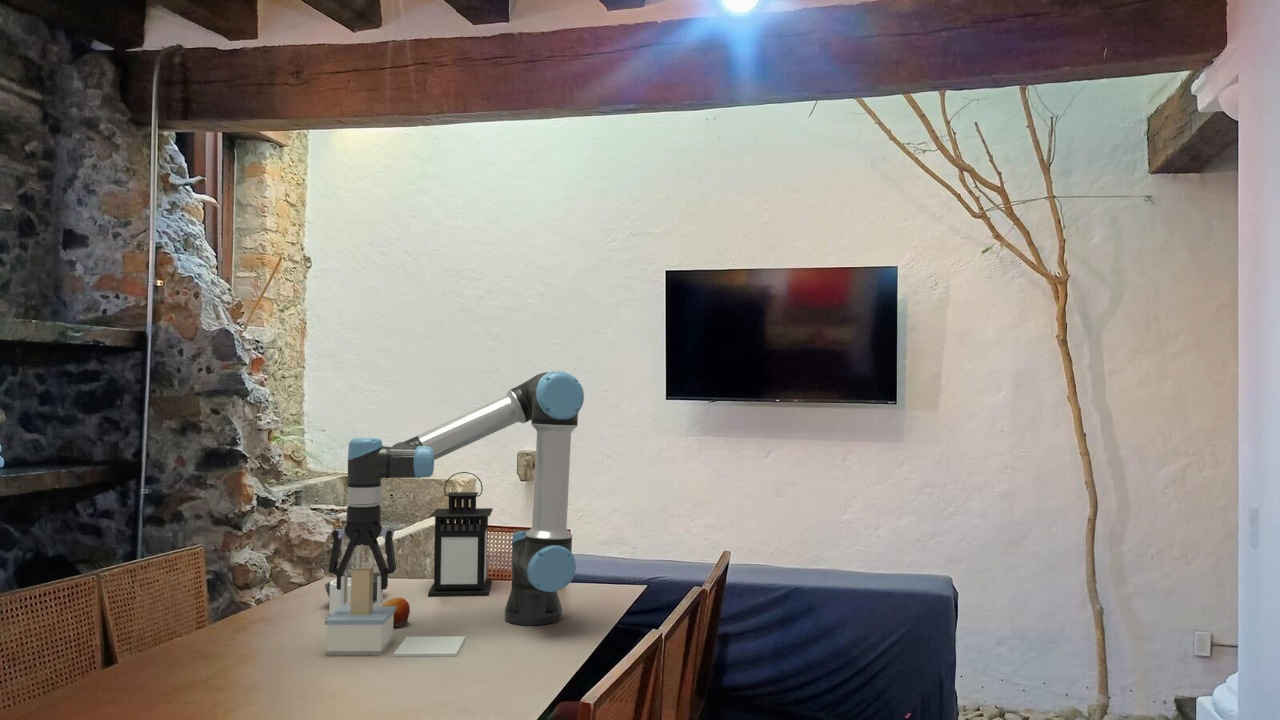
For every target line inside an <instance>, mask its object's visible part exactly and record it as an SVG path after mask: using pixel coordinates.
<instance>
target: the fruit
mask: <svg viewBox="0 0 1280 720" xmlns="http://www.w3.org/2000/svg"><path fill="white" fill-rule="evenodd" d="M380 606H396V611H395V612H394V620H393V628H395V627H399V628H401V627H402V624H409V625H410V623H409V621H408V620H409V616H410V614H411V613H410V611H411V609H410V608H411V607H410V603H409V602H408V601H407V599H405V598H403V597H398V596H397V597H392V598H391V599H388V600H386V601H385V602H383V603H382V604H381V605H380Z"/></svg>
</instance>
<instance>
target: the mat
mask: <svg viewBox="0 0 1280 720" xmlns="http://www.w3.org/2000/svg"><path fill="white" fill-rule="evenodd" d="M466 638H467V637H466V636H463V635H461V636H452V635H451V636H449V635H447V636H445V635H444V636H406V637H405V639H404V640H402V642H401V643H400V644H399V646H398V647H397V649H396V650H395V651H394V653H393V658H395V657H399V658H400V657H406V658H407V657H411V658H412V657H416V658H417V657H419V658H420V657H457V656H458V654H459V653H460V650H461V648H462V646H463V645H464V643H465V640H466Z"/></svg>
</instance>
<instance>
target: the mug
mask: <svg viewBox="0 0 1280 720" xmlns="http://www.w3.org/2000/svg"><path fill="white" fill-rule="evenodd" d="M329 582H330V595H329V596H328V598H329V599H328V601H329V602H328V605H329V606H328V608H329V609H328V613H329V616H330V615H331V614H333V613H334V612H335V611H336V610H337V609H339V608H340V607H341V606H351V578H348V581H347V603H346V604H344V605H340V603H341V590H337V578H336V579H332V580H331V581H329Z"/></svg>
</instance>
